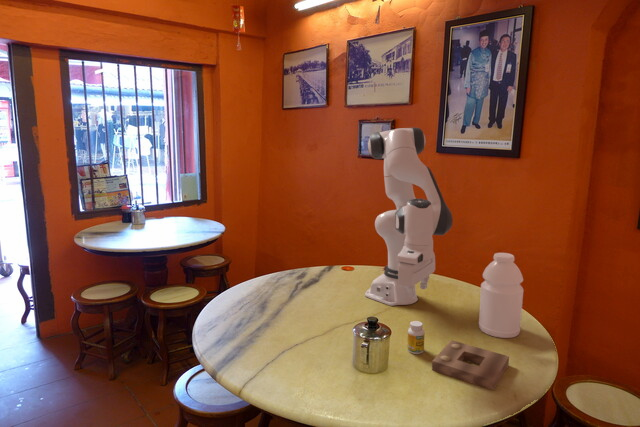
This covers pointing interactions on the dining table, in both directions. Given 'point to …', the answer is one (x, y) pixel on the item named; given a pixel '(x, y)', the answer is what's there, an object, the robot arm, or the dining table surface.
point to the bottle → (501, 297)
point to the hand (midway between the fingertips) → (417, 292)
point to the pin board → (483, 375)
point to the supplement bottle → (416, 338)
